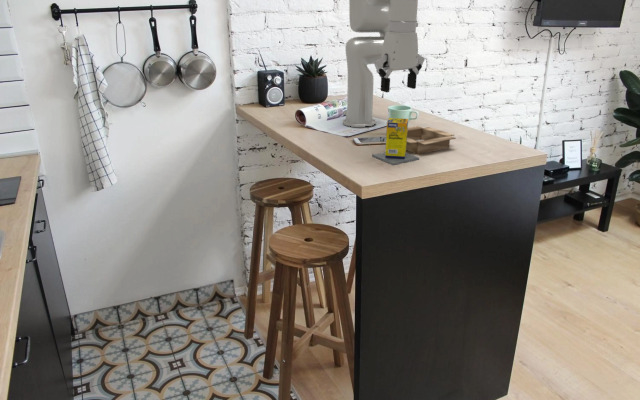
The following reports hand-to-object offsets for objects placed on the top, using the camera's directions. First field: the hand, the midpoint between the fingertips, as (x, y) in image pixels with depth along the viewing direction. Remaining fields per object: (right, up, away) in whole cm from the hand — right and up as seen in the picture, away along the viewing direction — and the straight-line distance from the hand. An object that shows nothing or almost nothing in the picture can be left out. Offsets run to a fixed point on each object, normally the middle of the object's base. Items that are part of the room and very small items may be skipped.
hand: (398, 89), depth 150 cm
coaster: (0, -19, +7) cm, 20 cm away
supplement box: (0, -19, +7) cm, 20 cm away
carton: (+10, -14, +19) cm, 26 cm away
